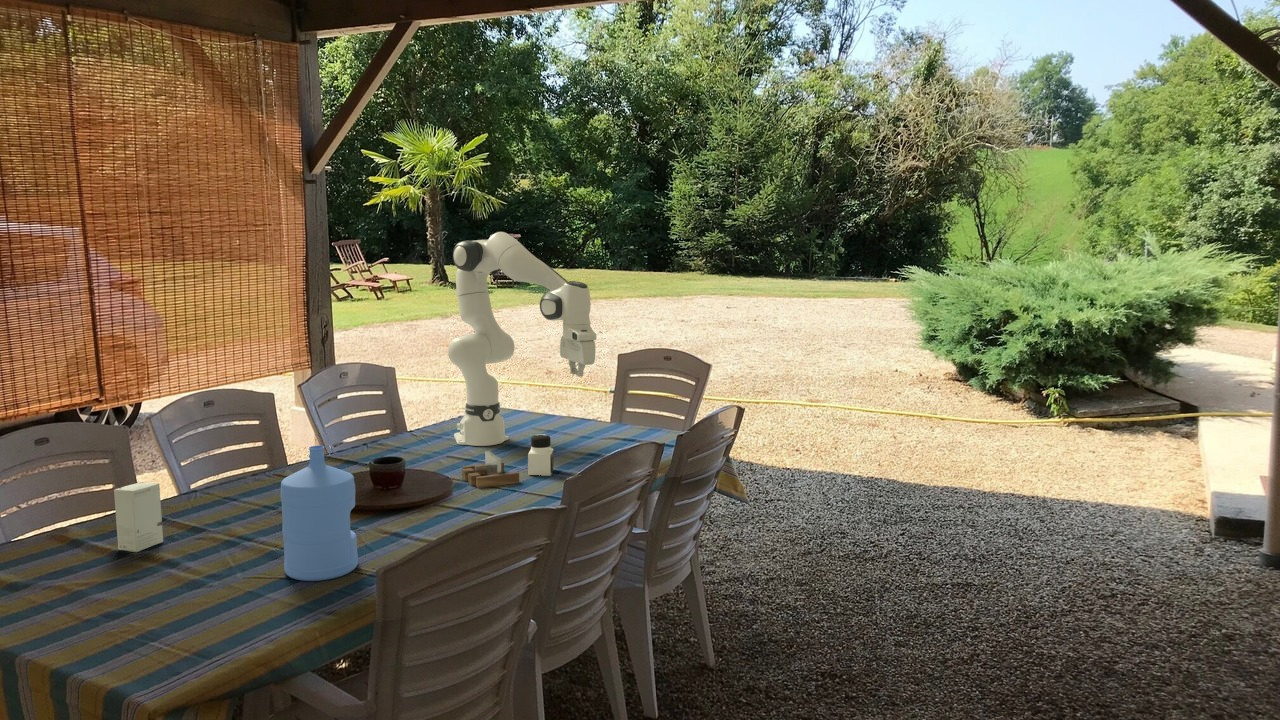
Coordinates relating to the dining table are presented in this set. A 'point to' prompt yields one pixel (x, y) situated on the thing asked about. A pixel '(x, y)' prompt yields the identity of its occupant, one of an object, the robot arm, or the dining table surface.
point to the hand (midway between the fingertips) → (576, 375)
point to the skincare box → (138, 516)
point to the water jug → (318, 521)
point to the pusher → (490, 464)
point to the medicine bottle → (541, 456)
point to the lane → (487, 477)
